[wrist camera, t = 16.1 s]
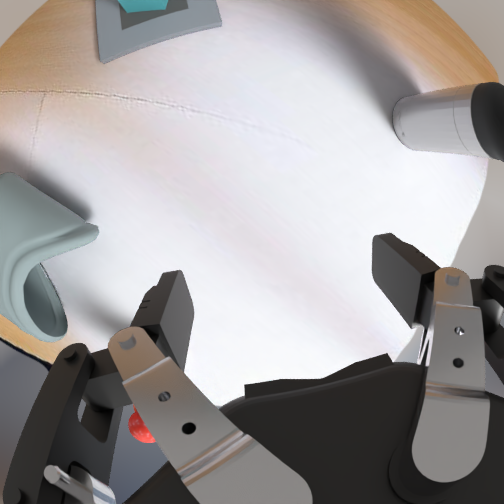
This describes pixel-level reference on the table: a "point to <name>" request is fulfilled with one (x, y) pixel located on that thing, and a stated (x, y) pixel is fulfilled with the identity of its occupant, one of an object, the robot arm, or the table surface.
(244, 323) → the table surface
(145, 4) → the teal square container
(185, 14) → the post plate
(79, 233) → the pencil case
